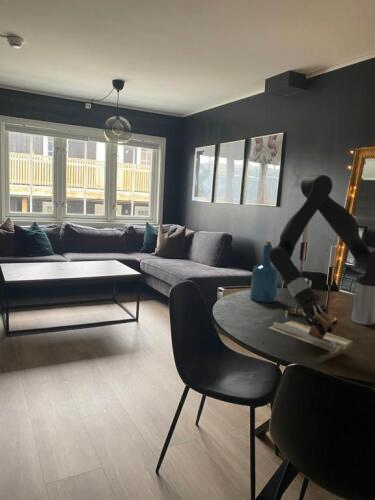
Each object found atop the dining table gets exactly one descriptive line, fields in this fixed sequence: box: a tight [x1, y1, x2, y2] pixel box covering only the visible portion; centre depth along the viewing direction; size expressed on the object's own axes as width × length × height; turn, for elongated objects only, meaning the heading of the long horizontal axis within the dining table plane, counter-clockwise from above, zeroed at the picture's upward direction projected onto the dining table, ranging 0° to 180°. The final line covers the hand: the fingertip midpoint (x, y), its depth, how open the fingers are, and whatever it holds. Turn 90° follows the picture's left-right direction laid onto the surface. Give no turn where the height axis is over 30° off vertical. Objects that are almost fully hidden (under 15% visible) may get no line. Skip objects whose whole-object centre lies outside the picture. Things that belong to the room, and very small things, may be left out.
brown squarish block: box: [309, 312, 334, 338], centre depth 138 cm, size 4×4×9 cm
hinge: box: [304, 277, 312, 288], centre depth 212 cm, size 17×5×10 cm, turn 163°
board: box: [268, 320, 354, 356], centre depth 144 cm, size 16×26×2 cm, turn 41°
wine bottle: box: [249, 241, 279, 304], centre depth 193 cm, size 14×13×30 cm
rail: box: [272, 321, 335, 349], centre depth 140 cm, size 2×25×2 cm, turn 41°
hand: (327, 332), depth 136 cm, fingers closed on brown squarish block, 4 cm apart
